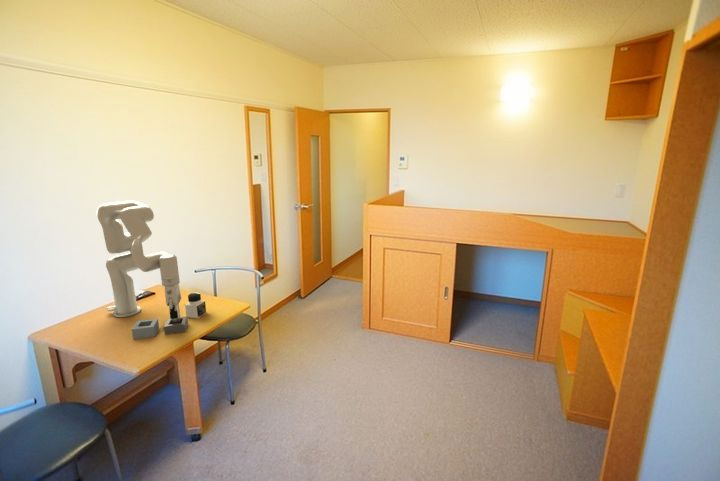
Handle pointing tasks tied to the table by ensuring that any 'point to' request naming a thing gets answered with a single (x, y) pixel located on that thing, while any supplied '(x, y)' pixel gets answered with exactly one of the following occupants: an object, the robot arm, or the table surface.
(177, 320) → the steel rod
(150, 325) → the socket block
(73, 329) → the table surface
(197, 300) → the medicine bottle
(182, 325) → the grey square ring
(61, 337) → the table surface
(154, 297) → the table surface
